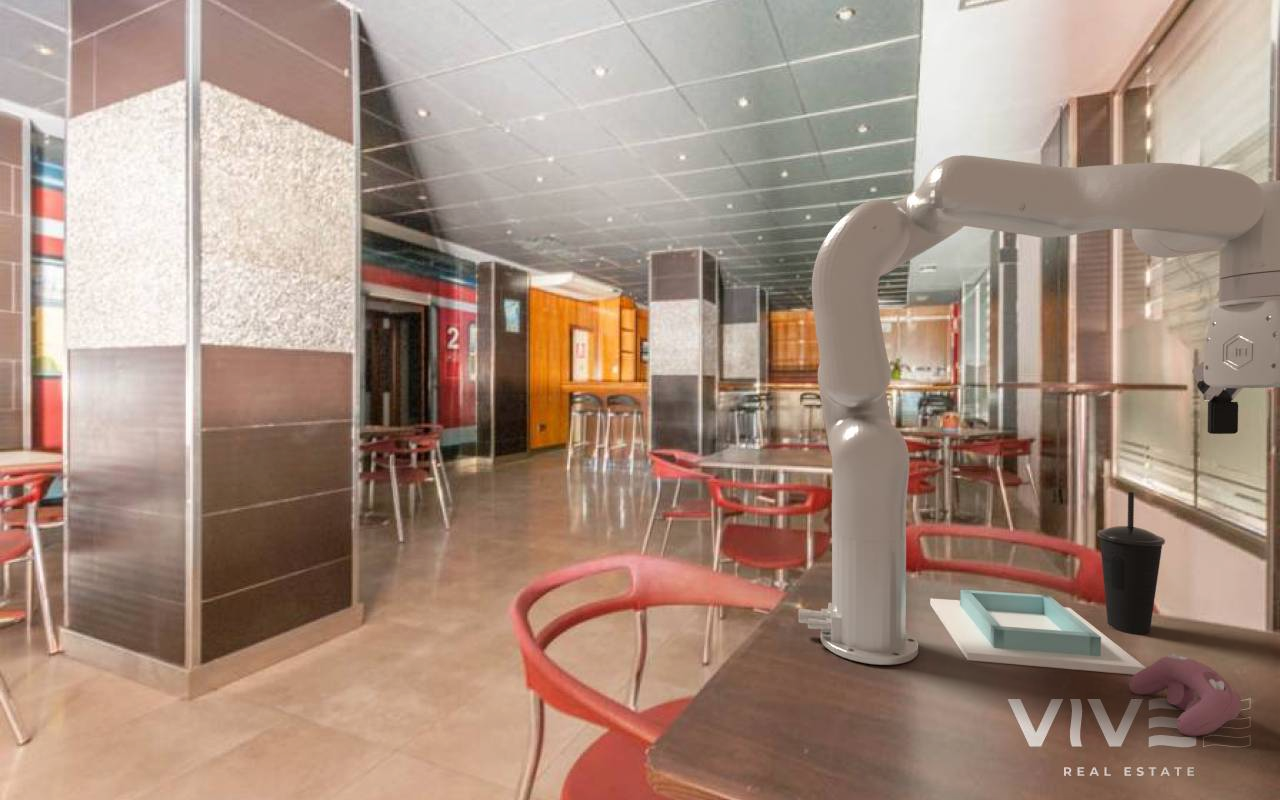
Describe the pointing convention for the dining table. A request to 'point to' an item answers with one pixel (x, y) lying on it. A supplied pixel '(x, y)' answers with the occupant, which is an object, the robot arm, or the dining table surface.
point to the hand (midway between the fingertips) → (1260, 437)
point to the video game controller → (1190, 693)
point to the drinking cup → (1130, 573)
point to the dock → (1029, 633)
